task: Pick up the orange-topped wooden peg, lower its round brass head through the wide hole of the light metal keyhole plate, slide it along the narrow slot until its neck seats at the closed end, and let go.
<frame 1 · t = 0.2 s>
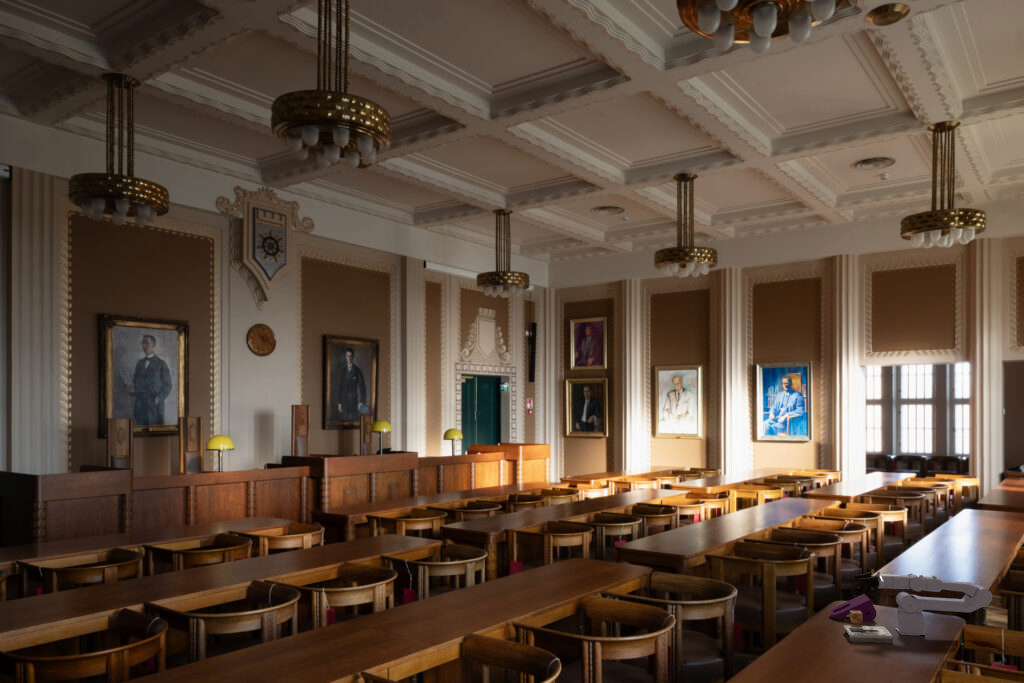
hand: (856, 579, 331), 21 cm above the table, tool horizontal, fingers open, 7 cm apart
keyhole peg: (856, 630, 331), on the table
keyhole plate: (868, 638, 321), on the table
mounting bracket: (851, 618, 349), on the table
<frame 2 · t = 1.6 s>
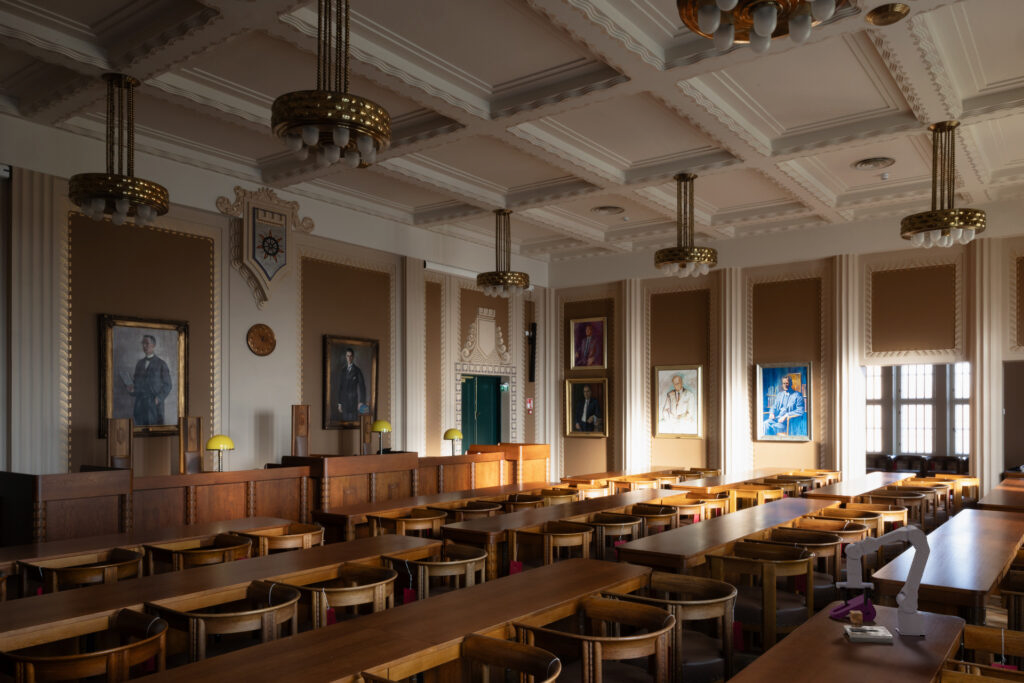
hand: (855, 605, 332), 10 cm above the table, tool pointing down, fingers open, 7 cm apart
nothing on the table moved.
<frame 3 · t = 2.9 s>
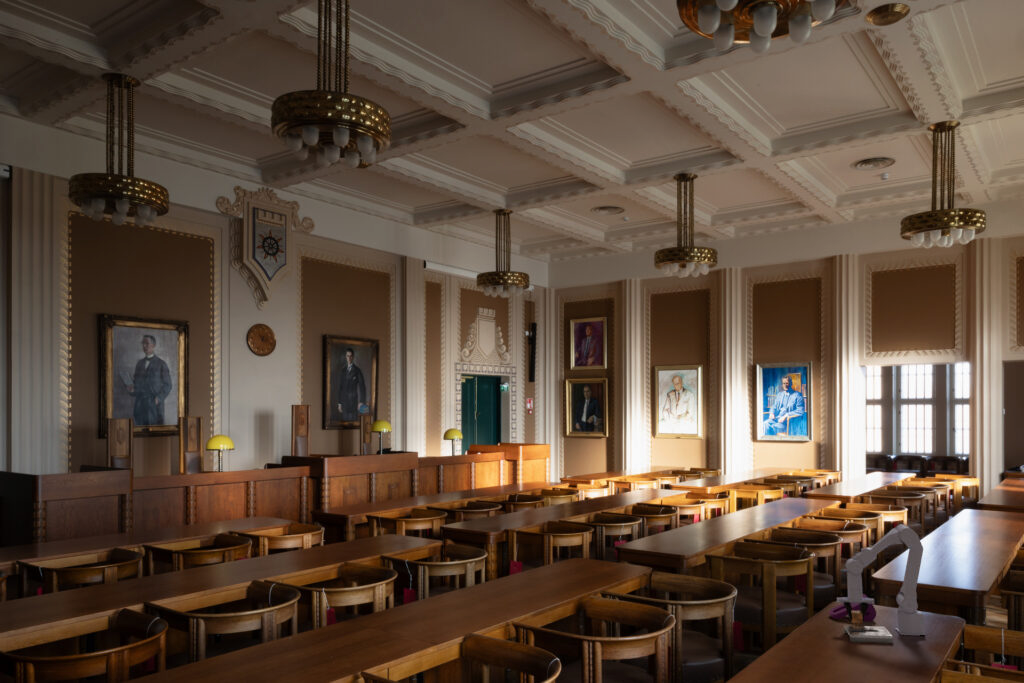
hand: (856, 620, 332), 4 cm above the table, tool pointing down, fingers closed on keyhole peg, 4 cm apart
keyhole peg: (856, 630, 331), on the table, touching gripper
everything else where it was.
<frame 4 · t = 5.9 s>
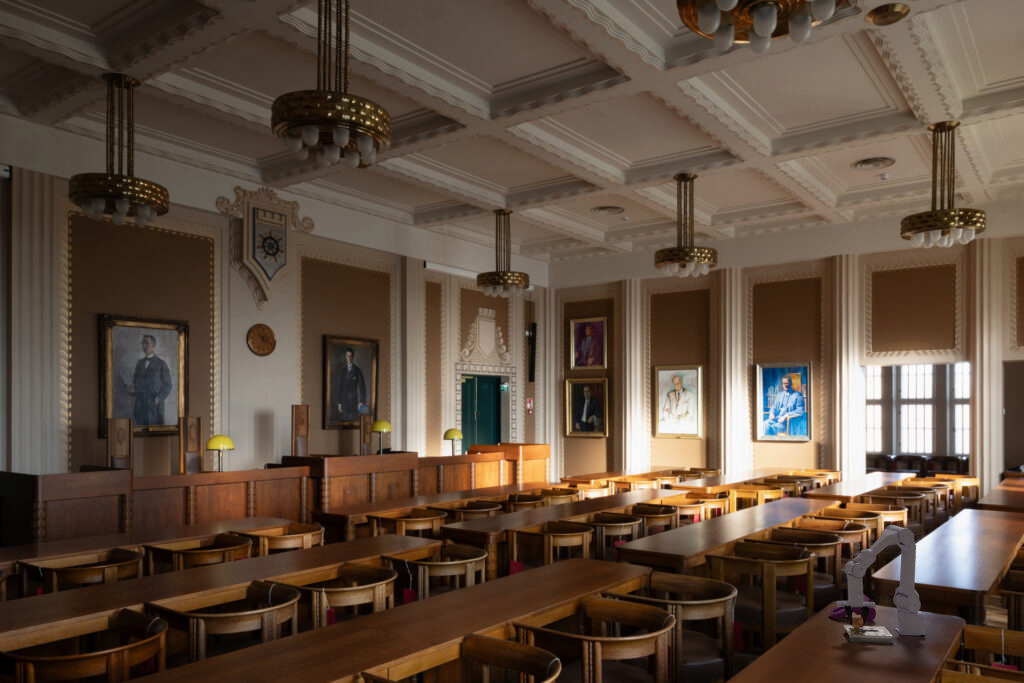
hand: (857, 625, 322), 5 cm above the table, tool pointing down, fingers closed on keyhole peg, 4 cm apart
keyhole peg: (857, 635, 322), point 1 cm above the table, touching gripper
everything else where it was.
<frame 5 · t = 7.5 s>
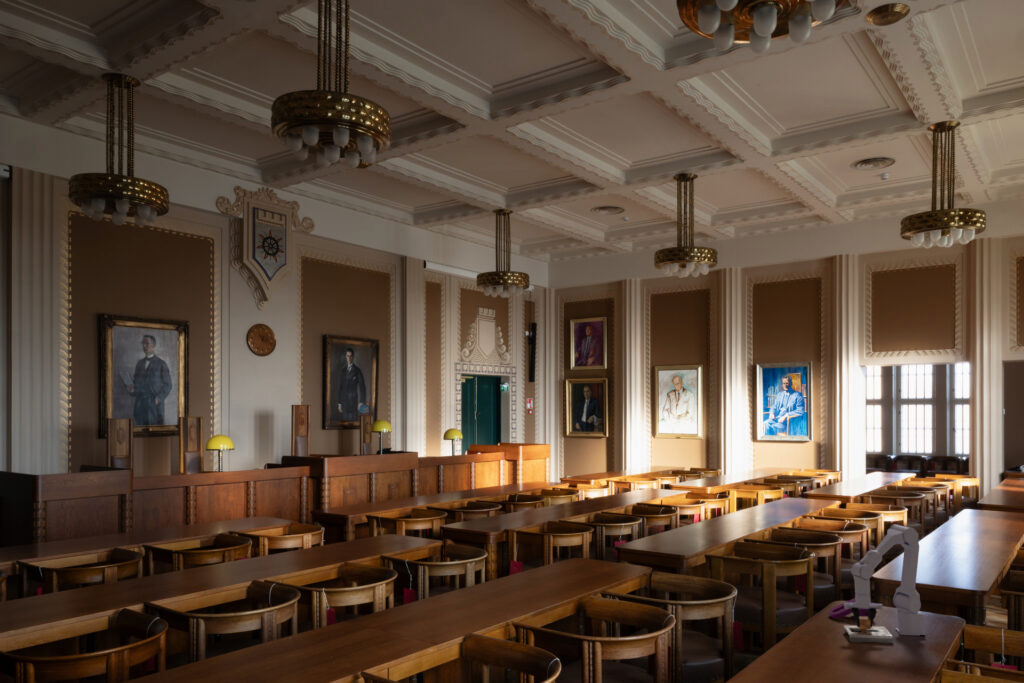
hand: (864, 626, 322), 5 cm above the table, tool pointing down, fingers closed on keyhole peg, 4 cm apart
keyhole peg: (864, 636, 322), on the table, touching gripper
everything else where it was.
when the fingers open (5 cm above the table, at t = 9.1 s): keyhole peg stays where it is, on the table.
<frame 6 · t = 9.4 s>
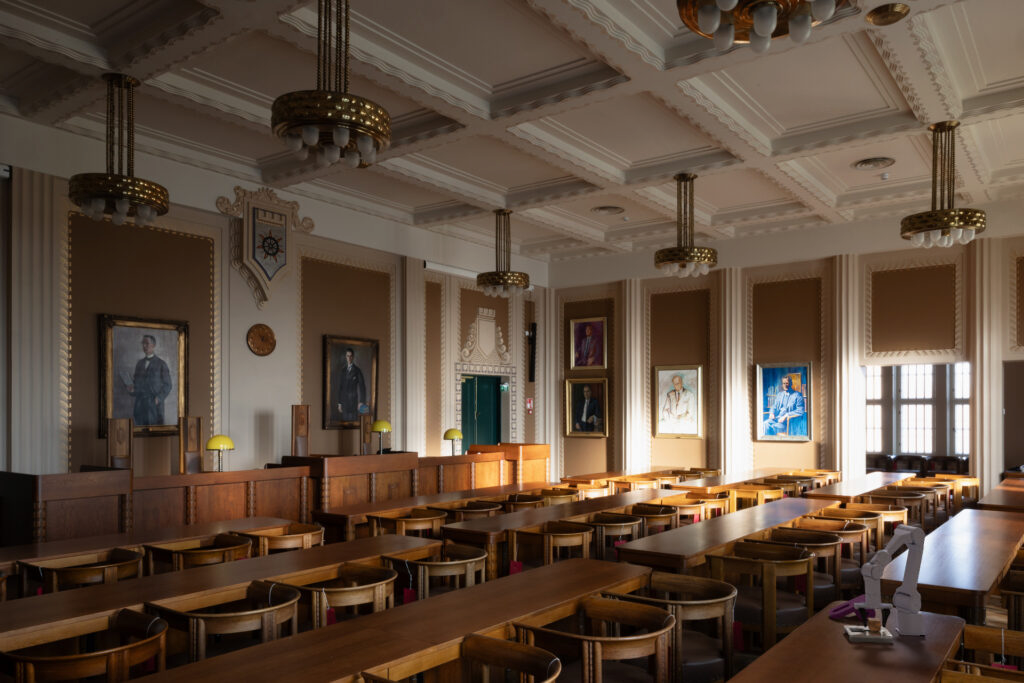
hand: (874, 626, 321), 5 cm above the table, tool pointing down, fingers open, 7 cm apart
keyhole peg: (874, 638, 321), on the table
everything else where it was.
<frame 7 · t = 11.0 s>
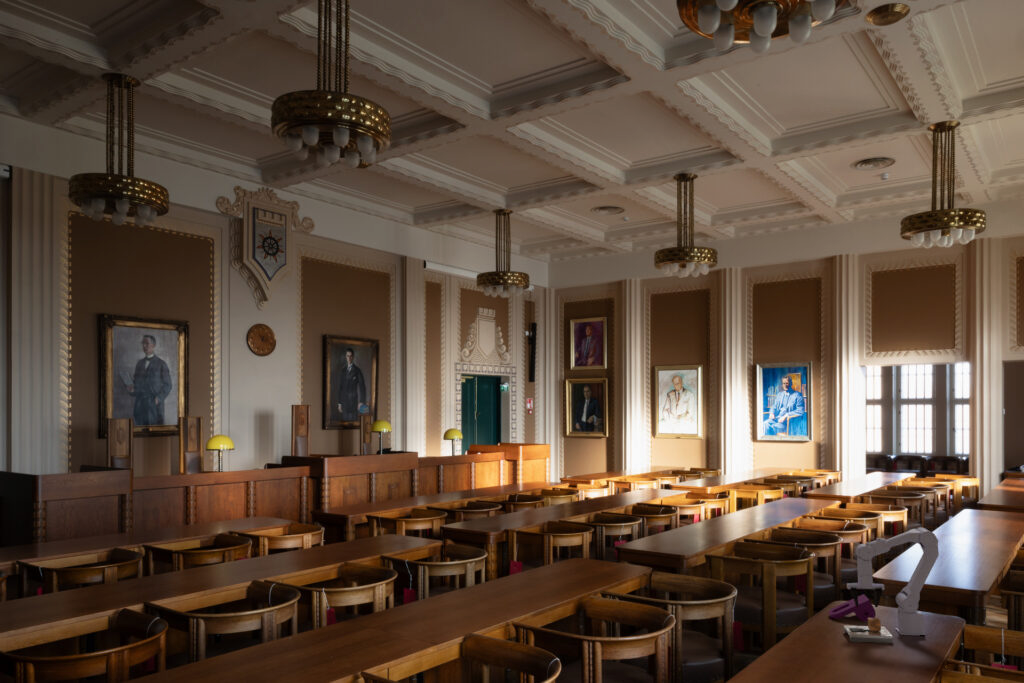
hand: (866, 606, 330), 10 cm above the table, tool pointing down, fingers open, 7 cm apart
nothing on the table moved.
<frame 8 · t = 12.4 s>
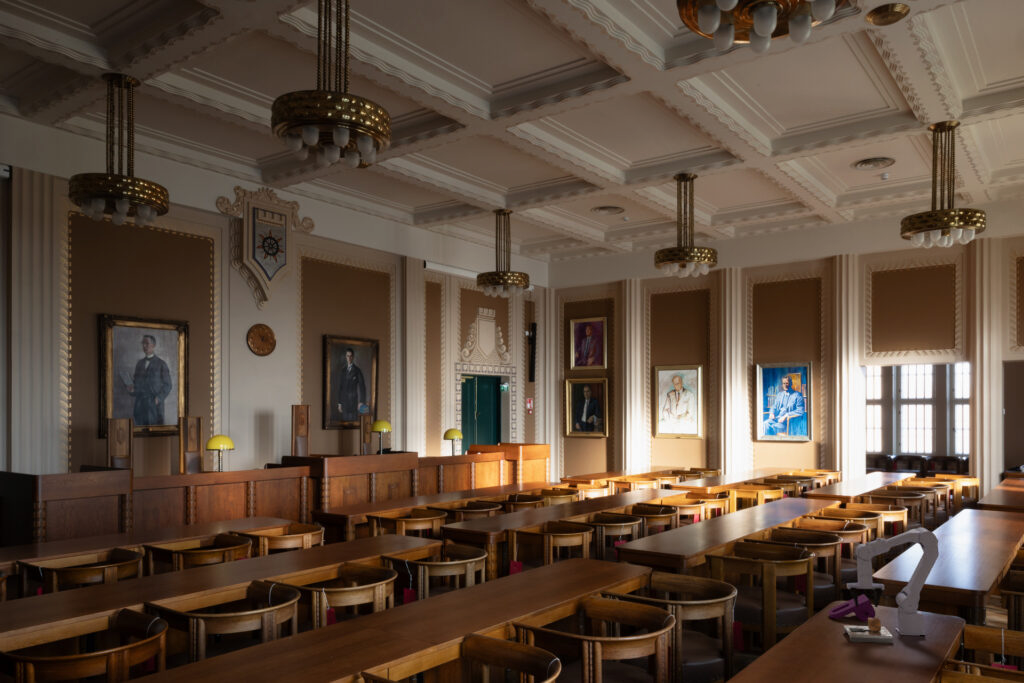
hand: (866, 606, 330), 10 cm above the table, tool pointing down, fingers open, 7 cm apart
nothing on the table moved.
at the end: keyhole peg 0.3 cm from the target spot, on the table; keyhole peg tilted 0°; the gripper is holding nothing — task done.
